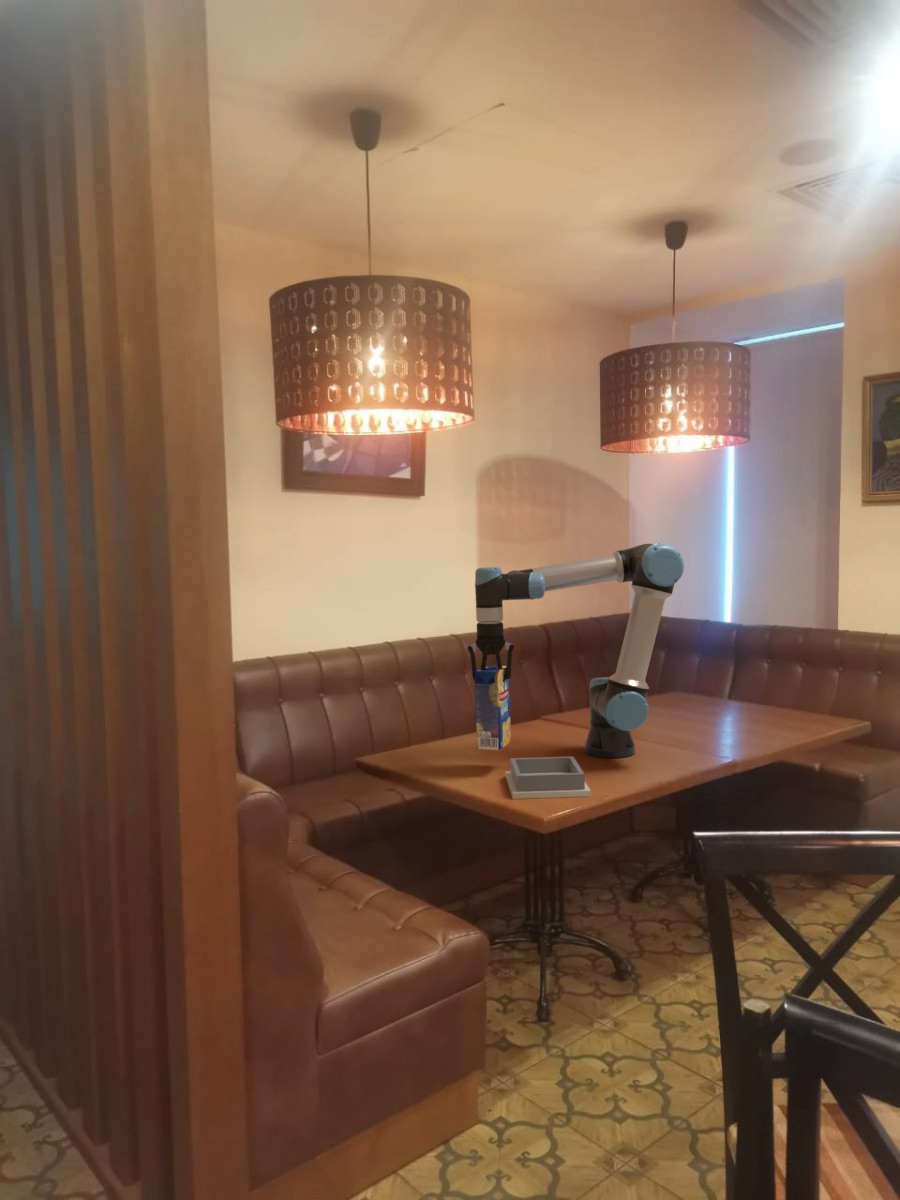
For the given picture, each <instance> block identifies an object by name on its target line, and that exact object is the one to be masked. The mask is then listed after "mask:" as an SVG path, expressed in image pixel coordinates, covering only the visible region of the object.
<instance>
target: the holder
mask: <svg viewBox="0 0 900 1200" xmlns="http://www.w3.org/2000/svg"><path fill="white" fill-rule="evenodd" d="M509 764H510V771H505V779H506V781H507V785H508V789H509V791H510V794H511V798H512V800H519V799H521V800H523V799H526V800H527V799H550V798H551V799H552V798H553V799H555V798H559V799H560V798H584V797H585V798H587V797H592V791H591V789H590V787H589V785H588V784H587V782H586V780H585V779H586V778H585V773H584V771H583V769H582V768H581V766H580V765H579V763H578V761H577V760H576V758H575V757H574V756H549V757H547V756H546V757H545V756H544V757H542V756H541V757H519V758H518V757H517V758H516V757H514V758H510V763H509Z"/></svg>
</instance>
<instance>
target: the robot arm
mask: <svg viewBox="0 0 900 1200" xmlns="http://www.w3.org/2000/svg"><path fill="white" fill-rule="evenodd" d="M684 569H685V564H684V559H683V556H682V555H681V553H680V552H679V550H678V549H676V548H675V547H673V546H672V545H668V544H665V543H644V544H640V545H636V546H633V547H629V548H626V549H622V550H621V549H620V550H615V551H614V552H613V553H612V554H611V555H604V556H599V557H594V558H593V557H592V558H587V559H586V558H585V559H581V560H575V561H570V562H569V561H568V562H562V563H555V564H552V565H551V564H550V565H545V566H538V567H532V568H526V569H522V570H521V569H520V570H510V571H508V572H507V573H503V571H502V568H501V567H498V566H496V567H495V566H493V567H492V566H491V567H490V566H489V567H487V566H485V567H478V568H477V569H476V570H475V571H474V572H475V574H474V575H475V576H474V577H475V580H474V581H475V583H474V588H475V591H474V592H475V614H476V615H475V616H476V617H475V619H476V621H477V624H476V639H475V642H474V643H472V644H468V645H467V649H468V652H469V654H470V664H471V665H470V666H471V674H472V680H473V681H475V678H474V671H476V670H477V663H476V662H477V661H476V655H475V652H476V651H477V648H478V650H479V651H480V652H481V661H480V668H479V669H481V670H485V667H486V666H487V659H488V656H491V655H492V656H494V658H495V662H496V666H497V668H498V669H502V666H503V665H502V659H501V655H500V653H501V651H502V649H503V648H504V646H505V650H506V660H505V661H506V662H505V663H506V665H505V666H506V674H505V675H504V674H503V682H504V691H505V680H507V679H509V680H510V679H511V678H512V659H513V656H512V655H513V654H512V653H513V651H514V648H515V645H514V643H509V642H508V641H506V639H505V637H504V623H503V622H502V621H503V620H504V611H503V610H504V609H503V601H514V600H515V601H517V600H519V601H520V600H531V601H533V600H537V599H538V600H539V599H542V598H544V596H545V592H550V591H557V590H563V589H570V588H575V587H576V588H577V587H583V586H589V585H594V584H600V583H601V584H602V583H607V582H613V581H616V582H618V583H620V584H621V583H628V582H629V583H630V582H631V585H630V586H631V588H632V590H633V591H634V597H633V600H632V603H631V609H630V612H629V617H628V620H627V624H626V629H625V632H624V637H623V641H622V645H621V649H620V654H619V657H618V661H617V665H616V671H615V673H614V674H612V675H611V676H609V677H594V678H592V679H590V682H589V687H588V689H589V717H590V720H589V721H590V727H589V731H588V733H587V737H586V739H585V743H584V752H585V753H586V755H589V756H592V757H597V758H603V759H604V758H607V759H609V758H610V759H613V758H614V759H618V758H619V759H620V758H626V757H631V756H633V755H635V754H636V744H635V741H634V739H633V735H632V732H631V731H633V730H636V729H638V728H640V727H641V726H642V725H643V724H645V722H646V721H647V719H648V715H649V711H650V710H649V704H648V701H647V697H648V693H649V689H650V687H649V685H648V683H647V682H646V679H647V674H648V671H649V666H650V662H651V659H652V658H651V657H652V654H653V649H654V646H655V642H656V639H657V638H656V637H657V634H658V630H659V627H660V626H659V625H660V622H661V617H662V613H663V610H664V605H665V601H666V599H668V598H669V597H672V595H673V591H674V588H675V584H677V583H678V582H679V580H680V579H681V578H682V576H683V573H684V571H685V570H684Z"/></svg>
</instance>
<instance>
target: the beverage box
mask: <svg viewBox="0 0 900 1200" xmlns="http://www.w3.org/2000/svg"><path fill="white" fill-rule="evenodd" d="M503 674H504V675H505V674H506V665H502V669H498V668H497V665H486V667H485V670H481V669H480V668H478V669H476V671H474V678H475V680H474V701H475V702H474V703H475V729H476V749H477V750H493V751H501V750H503V749H504V747H506V746H507V745H508V744H509V743H510V742H512V734H511V732H512V731H511V708H510V707H511V702H510V701H511V700H510V698H511V697H510V679H507V680H505V691H504V682H503Z"/></svg>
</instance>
